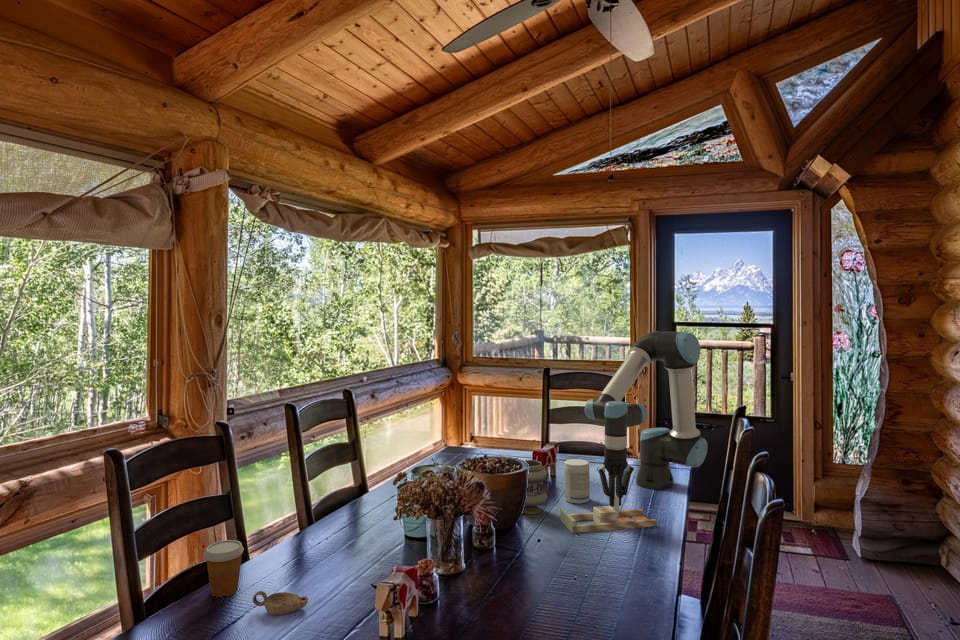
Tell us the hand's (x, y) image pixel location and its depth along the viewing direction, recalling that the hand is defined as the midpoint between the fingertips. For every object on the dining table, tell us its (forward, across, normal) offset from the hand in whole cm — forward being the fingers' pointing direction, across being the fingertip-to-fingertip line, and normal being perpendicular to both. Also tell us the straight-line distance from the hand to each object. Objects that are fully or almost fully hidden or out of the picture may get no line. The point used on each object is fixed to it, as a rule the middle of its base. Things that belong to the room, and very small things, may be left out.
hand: (615, 515), depth 206 cm
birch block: (+3, +4, 0) cm, 5 cm away
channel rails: (+3, +2, 0) cm, 3 cm away
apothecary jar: (+3, +25, -16) cm, 30 cm away
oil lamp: (+3, +105, +38) cm, 112 cm away
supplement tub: (+3, +4, -25) cm, 26 cm away
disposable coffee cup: (+3, +120, +25) cm, 123 cm away
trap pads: (+3, -7, 0) cm, 8 cm away
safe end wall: (+3, +17, 0) cm, 17 cm away
